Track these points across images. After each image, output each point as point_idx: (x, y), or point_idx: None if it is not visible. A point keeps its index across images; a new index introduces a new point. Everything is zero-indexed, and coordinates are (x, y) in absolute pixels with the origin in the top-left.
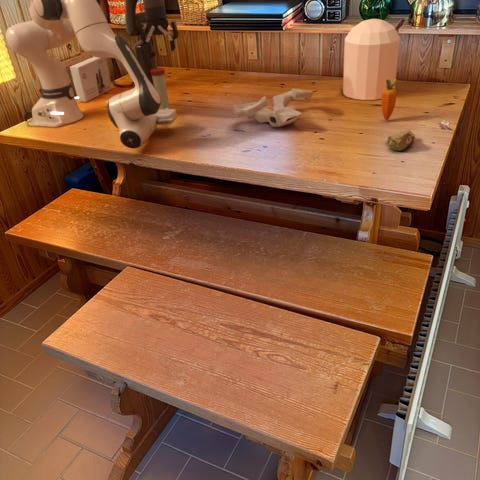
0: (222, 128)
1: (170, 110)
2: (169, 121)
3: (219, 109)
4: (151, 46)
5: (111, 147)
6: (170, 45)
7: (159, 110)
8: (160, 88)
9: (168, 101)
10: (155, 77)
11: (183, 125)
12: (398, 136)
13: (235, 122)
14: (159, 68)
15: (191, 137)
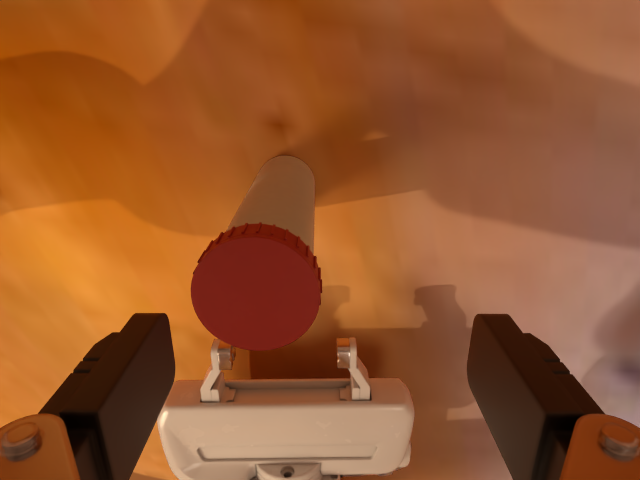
0: (575, 348)
1: (392, 429)
2: (396, 468)
3: (571, 116)
4: (143, 398)
5: None
6: (497, 439)
7: (337, 426)
8: None
9: (314, 204)
10: None
11: (406, 310)
12: None
13: (635, 294)
14: (266, 261)
15: (457, 414)
